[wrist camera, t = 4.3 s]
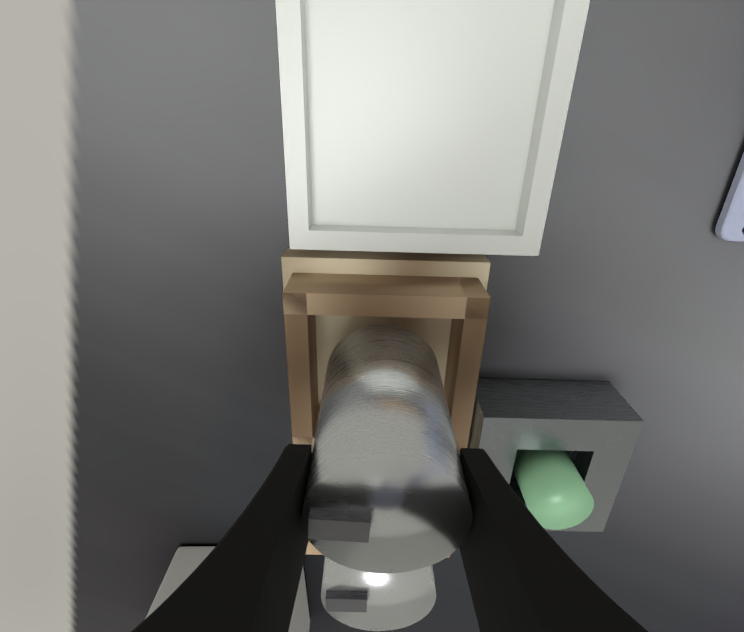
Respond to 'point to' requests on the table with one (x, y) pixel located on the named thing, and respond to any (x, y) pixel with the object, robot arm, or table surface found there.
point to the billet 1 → (385, 458)
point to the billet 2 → (377, 596)
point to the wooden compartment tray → (383, 320)
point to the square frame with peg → (559, 432)
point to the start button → (552, 488)
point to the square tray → (424, 121)
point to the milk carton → (192, 558)
